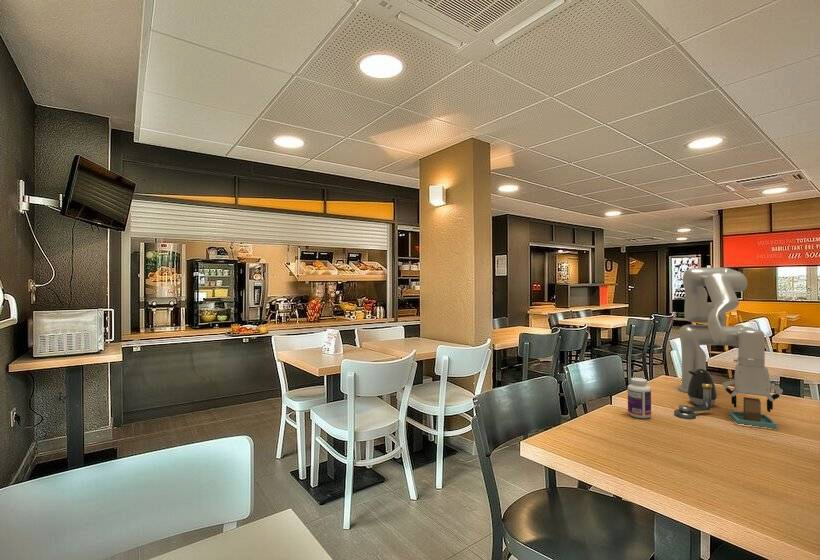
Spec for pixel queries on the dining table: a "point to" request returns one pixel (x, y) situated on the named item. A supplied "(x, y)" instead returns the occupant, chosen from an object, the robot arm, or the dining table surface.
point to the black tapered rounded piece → (700, 386)
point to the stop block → (752, 409)
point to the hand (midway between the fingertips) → (751, 408)
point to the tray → (765, 421)
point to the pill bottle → (639, 398)
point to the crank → (706, 401)
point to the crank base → (684, 414)
